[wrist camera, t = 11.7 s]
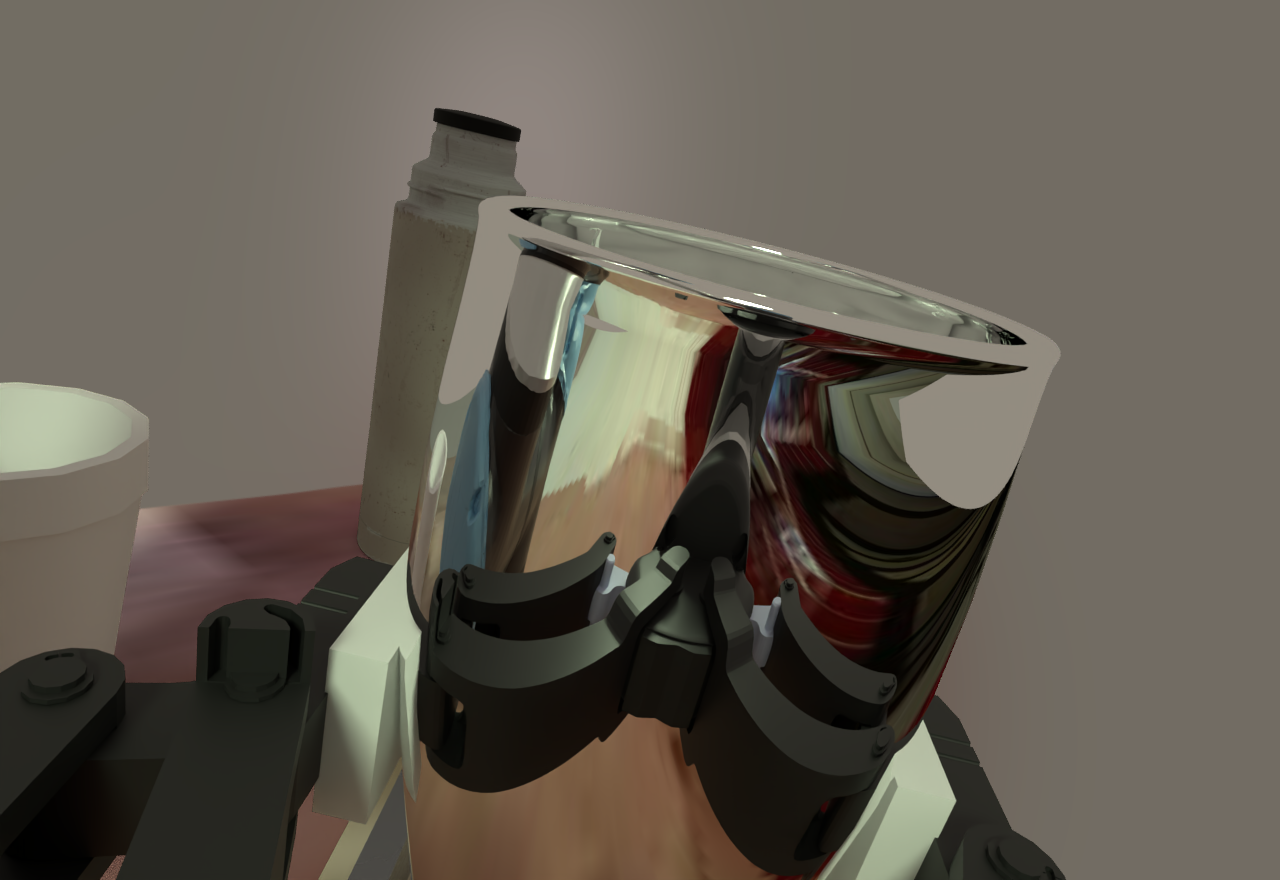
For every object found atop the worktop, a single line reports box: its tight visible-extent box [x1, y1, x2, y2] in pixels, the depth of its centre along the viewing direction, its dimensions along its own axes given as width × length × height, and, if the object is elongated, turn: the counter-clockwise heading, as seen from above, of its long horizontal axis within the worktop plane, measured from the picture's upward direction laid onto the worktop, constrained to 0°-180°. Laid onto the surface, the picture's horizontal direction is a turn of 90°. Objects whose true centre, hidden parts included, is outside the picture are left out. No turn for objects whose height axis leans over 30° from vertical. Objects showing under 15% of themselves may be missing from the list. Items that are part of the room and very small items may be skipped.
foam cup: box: [0, 383, 149, 673], centre depth 31 cm, size 10×9×13 cm
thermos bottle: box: [357, 108, 526, 565], centre depth 48 cm, size 8×8×28 cm
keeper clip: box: [348, 770, 410, 880], centre depth 28 cm, size 11×12×4 cm
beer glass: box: [399, 195, 1061, 880], centre depth 11 cm, size 7×7×15 cm
